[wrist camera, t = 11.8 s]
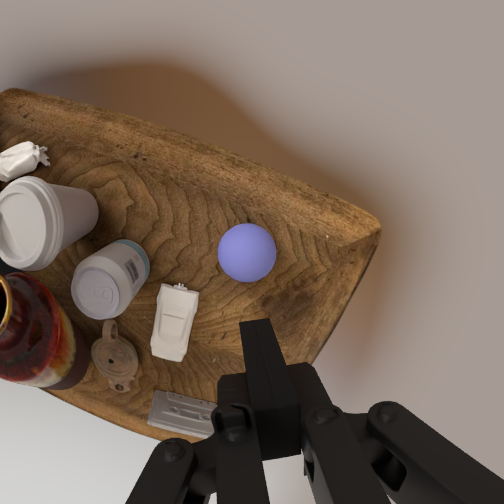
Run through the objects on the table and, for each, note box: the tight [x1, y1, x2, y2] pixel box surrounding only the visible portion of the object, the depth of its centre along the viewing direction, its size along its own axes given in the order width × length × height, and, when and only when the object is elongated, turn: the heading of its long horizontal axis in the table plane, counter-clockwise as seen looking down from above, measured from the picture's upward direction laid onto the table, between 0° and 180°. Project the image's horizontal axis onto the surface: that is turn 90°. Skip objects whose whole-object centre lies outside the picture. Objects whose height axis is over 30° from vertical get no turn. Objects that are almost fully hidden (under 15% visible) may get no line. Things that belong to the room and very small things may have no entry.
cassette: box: [147, 390, 218, 439], centre depth 40 cm, size 12×2×8 cm, turn 71°
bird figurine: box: [0, 141, 50, 183], centre depth 31 cm, size 5×7×10 cm
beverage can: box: [71, 239, 150, 320], centre depth 32 cm, size 7×7×12 cm
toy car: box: [150, 283, 199, 362], centre depth 39 cm, size 6×12×3 cm, turn 164°
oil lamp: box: [91, 319, 138, 393], centre depth 39 cm, size 13×8×5 cm, turn 171°
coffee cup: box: [0, 176, 99, 271], centre depth 29 cm, size 10×10×15 cm
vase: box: [0, 272, 90, 390], centre depth 26 cm, size 11×11×26 cm
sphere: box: [218, 223, 277, 282], centre depth 36 cm, size 7×7×7 cm
